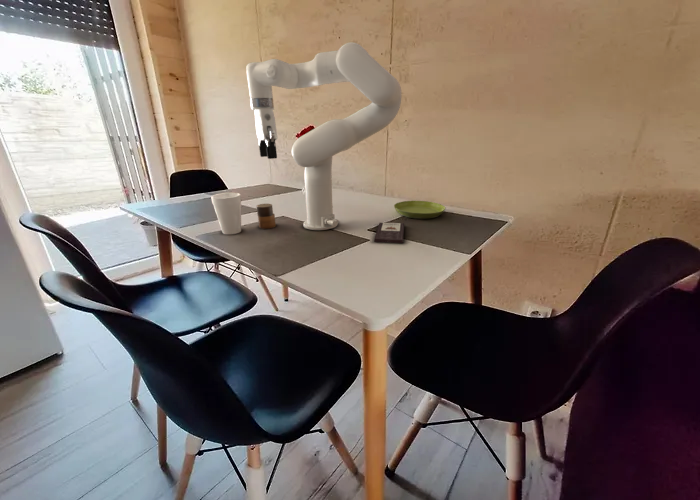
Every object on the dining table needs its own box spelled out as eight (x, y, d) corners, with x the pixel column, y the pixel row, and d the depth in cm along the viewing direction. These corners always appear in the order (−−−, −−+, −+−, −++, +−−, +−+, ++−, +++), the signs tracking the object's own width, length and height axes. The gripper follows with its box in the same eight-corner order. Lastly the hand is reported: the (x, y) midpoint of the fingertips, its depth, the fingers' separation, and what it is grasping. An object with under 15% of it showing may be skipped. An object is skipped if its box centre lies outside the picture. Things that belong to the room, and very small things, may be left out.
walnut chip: (276, 214, 115) (275, 205, 113) (262, 217, 111) (261, 208, 110) (268, 212, 118) (266, 202, 117) (254, 215, 115) (253, 205, 113)
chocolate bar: (374, 239, 98) (379, 222, 115) (374, 241, 99) (379, 224, 115) (403, 240, 97) (404, 223, 113) (402, 243, 97) (404, 225, 114)
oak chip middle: (278, 220, 115) (277, 214, 115) (263, 224, 111) (263, 218, 111) (269, 217, 119) (268, 211, 118) (255, 220, 115) (254, 215, 115)
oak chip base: (278, 226, 116) (278, 220, 115) (264, 229, 112) (263, 224, 111) (270, 223, 120) (269, 217, 119) (256, 226, 116) (255, 220, 115)
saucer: (392, 220, 121) (392, 211, 120) (394, 207, 140) (394, 200, 139) (447, 221, 118) (448, 213, 117) (441, 208, 137) (442, 201, 136)
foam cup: (218, 237, 105) (211, 199, 100) (217, 229, 113) (210, 194, 108) (247, 233, 109) (241, 196, 104) (244, 226, 117) (239, 191, 112)
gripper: (281, 103, 100) (286, 158, 106) (266, 106, 114) (271, 155, 120) (257, 103, 97) (264, 160, 103) (245, 106, 111) (252, 156, 117)
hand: (268, 157), depth 112 cm, fingers open, 9 cm apart
